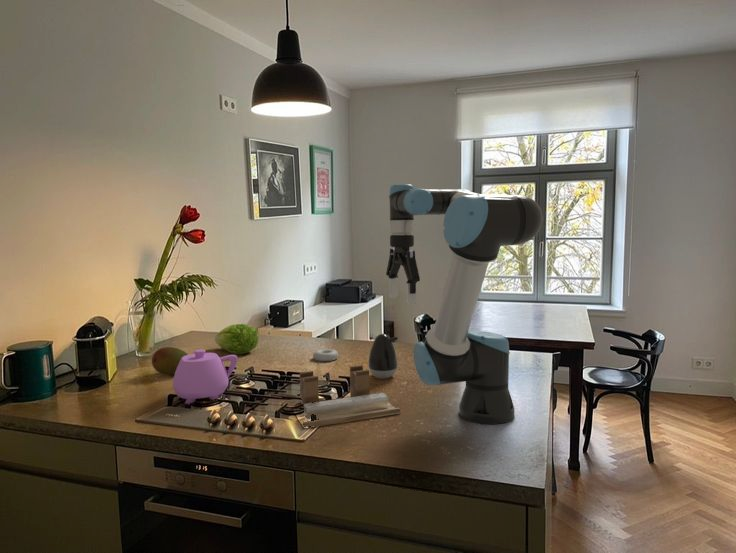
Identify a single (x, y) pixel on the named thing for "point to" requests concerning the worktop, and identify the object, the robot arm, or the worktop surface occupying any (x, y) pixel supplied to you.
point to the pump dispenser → (383, 357)
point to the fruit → (167, 359)
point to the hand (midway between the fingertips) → (402, 300)
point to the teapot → (202, 375)
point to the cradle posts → (357, 384)
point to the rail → (346, 405)
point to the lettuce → (237, 338)
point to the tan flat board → (353, 416)
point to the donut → (325, 355)
